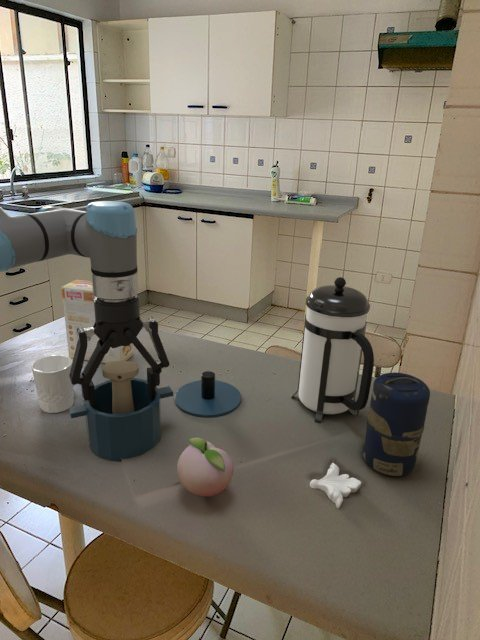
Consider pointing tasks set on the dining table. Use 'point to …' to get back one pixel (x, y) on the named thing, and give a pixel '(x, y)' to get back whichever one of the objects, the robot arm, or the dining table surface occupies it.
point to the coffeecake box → (86, 320)
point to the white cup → (53, 383)
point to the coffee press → (335, 351)
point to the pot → (122, 421)
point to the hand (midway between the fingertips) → (123, 406)
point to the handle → (121, 384)
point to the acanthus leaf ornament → (336, 485)
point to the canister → (395, 423)
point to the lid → (207, 397)
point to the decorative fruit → (204, 468)
